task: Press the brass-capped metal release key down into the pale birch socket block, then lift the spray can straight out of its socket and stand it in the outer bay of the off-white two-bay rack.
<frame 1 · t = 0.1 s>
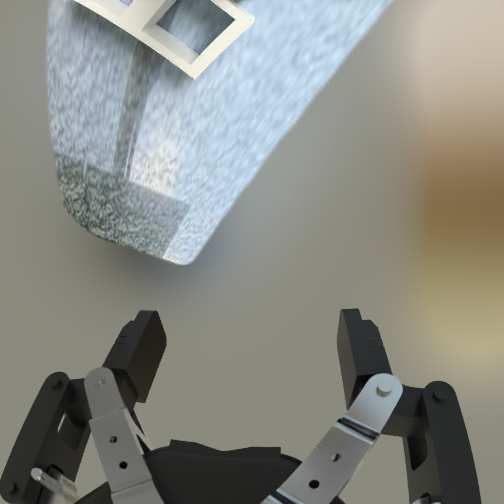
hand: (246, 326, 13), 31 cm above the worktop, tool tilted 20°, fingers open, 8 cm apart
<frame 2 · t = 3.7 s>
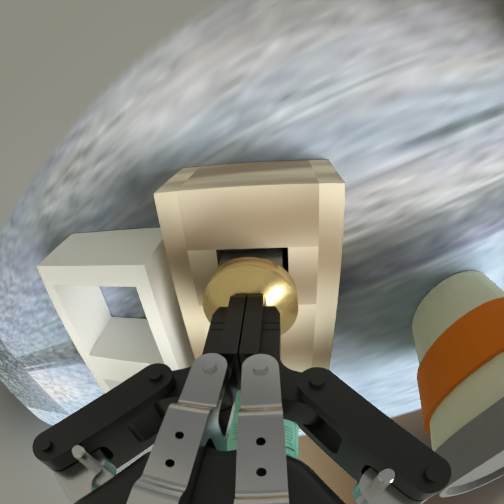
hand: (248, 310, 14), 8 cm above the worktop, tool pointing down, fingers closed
rack: (149, 331, 26), on the worktop
socket block: (268, 358, 26), on the worktop
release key: (254, 276, 16), point 5 cm above the worktop, slide at 1.5 cm, touching gripper
spray can: (266, 357, 26), resting in socket block
reusable coffee cup: (453, 311, 23), on the worktop
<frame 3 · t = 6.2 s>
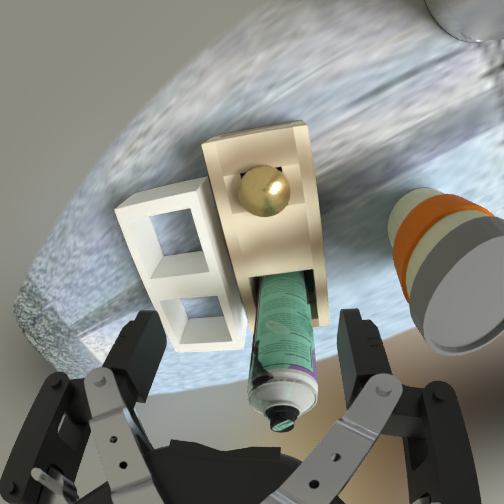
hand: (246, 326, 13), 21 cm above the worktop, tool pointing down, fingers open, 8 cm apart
rack: (193, 263, 37), on the worktop
socket block: (284, 273, 36), on the worktop
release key: (265, 183, 28), point 3 cm above the worktop, slide at 3.0 cm, touching socket block
spray can: (283, 273, 37), resting in socket block
reusable coffee cup: (420, 223, 32), on the worktop
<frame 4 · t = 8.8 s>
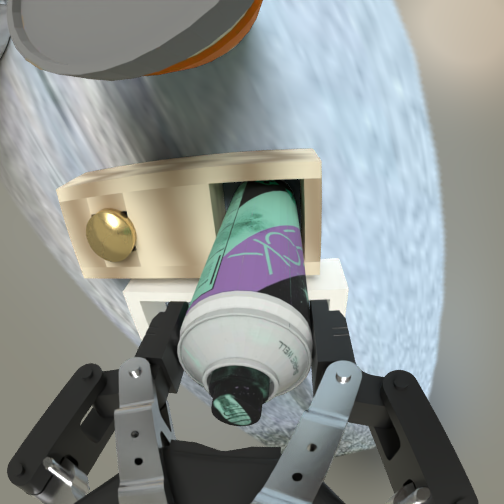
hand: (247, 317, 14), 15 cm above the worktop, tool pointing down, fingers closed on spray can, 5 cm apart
rack: (239, 298, 32), on the worktop
socket block: (262, 201, 27), on the worktop
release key: (122, 223, 25), point 3 cm above the worktop, slide at 3.0 cm, touching socket block
spray can: (264, 202, 27), resting in socket block, touching gripper
reusable coffee cup: (197, 16, 19), on the worktop
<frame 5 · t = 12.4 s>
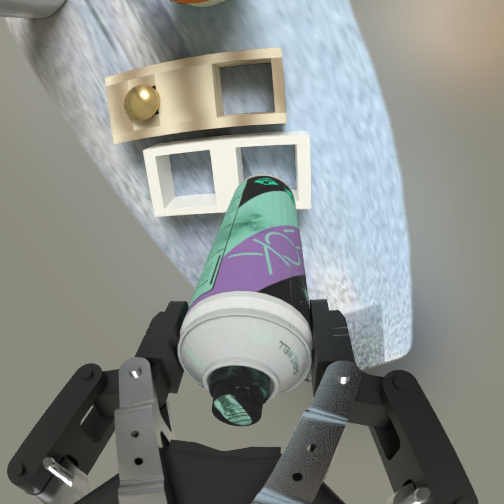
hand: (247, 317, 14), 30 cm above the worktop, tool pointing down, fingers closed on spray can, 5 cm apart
rack: (231, 167, 40), on the worktop
socket block: (247, 88, 35), on the worktop
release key: (149, 101, 33), point 3 cm above the worktop, slide at 3.0 cm, touching socket block
spray can: (263, 202, 27), point 15 cm above the worktop, touching gripper
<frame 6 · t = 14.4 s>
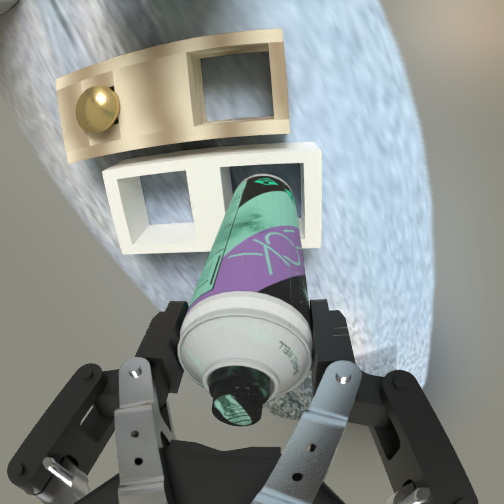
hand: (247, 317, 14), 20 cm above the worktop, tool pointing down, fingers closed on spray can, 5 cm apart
rack: (217, 189, 31), on the worktop
socket block: (237, 85, 26), on the worktop
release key: (109, 107, 24), point 3 cm above the worktop, slide at 3.0 cm, touching socket block
spray can: (263, 202, 27), point 5 cm above the worktop, touching gripper
when the fingers open (16 cm above the worktop, at t = 15.9 s): spray can drops 1 cm, resting in rack.
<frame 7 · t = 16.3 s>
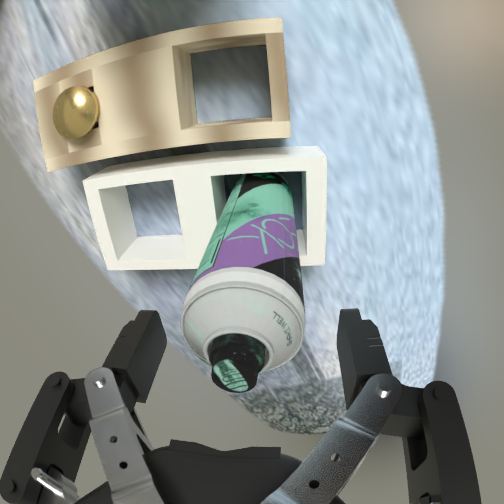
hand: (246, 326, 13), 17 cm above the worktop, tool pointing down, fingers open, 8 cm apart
rack: (210, 199, 28), on the worktop
socket block: (231, 83, 23), on the worktop
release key: (90, 109, 21), point 3 cm above the worktop, slide at 3.0 cm, touching socket block
spray can: (262, 196, 28), resting in rack
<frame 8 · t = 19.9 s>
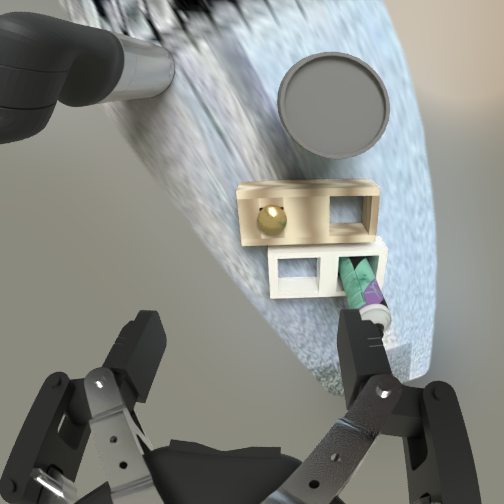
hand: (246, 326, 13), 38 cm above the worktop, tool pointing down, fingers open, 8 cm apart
rack: (325, 259, 55), on the worktop
socket block: (344, 204, 49), on the worktop
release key: (272, 214, 48), point 3 cm above the worktop, slide at 3.0 cm, touching socket block
spray can: (350, 258, 54), resting in rack
reusable coffee cup: (318, 102, 42), on the worktop
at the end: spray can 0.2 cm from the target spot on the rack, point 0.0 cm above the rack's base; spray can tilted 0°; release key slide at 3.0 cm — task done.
